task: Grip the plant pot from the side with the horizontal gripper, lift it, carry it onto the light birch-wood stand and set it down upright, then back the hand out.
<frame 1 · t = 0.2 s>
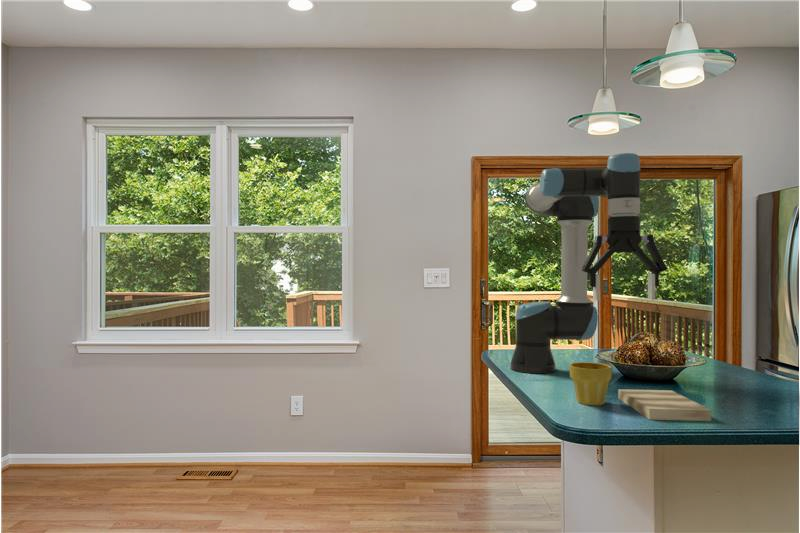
hand: (623, 299, 135), 27 cm above the countertop, tool pointing down, fingers open, 13 cm apart
plant pot: (590, 403, 138), on the countertop
birch stand: (661, 408, 133), on the countertop
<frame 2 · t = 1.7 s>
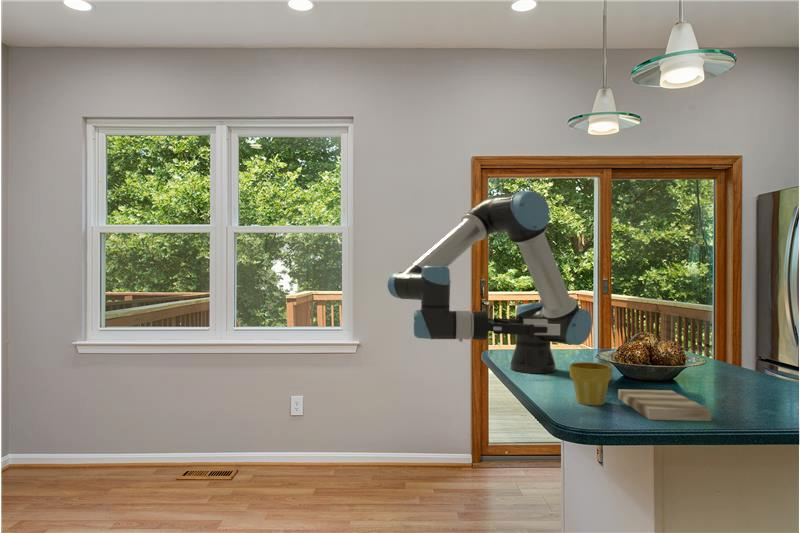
hand: (553, 326, 139), 20 cm above the countertop, tool horizontal, fingers open, 13 cm apart
nothing on the countertop moved.
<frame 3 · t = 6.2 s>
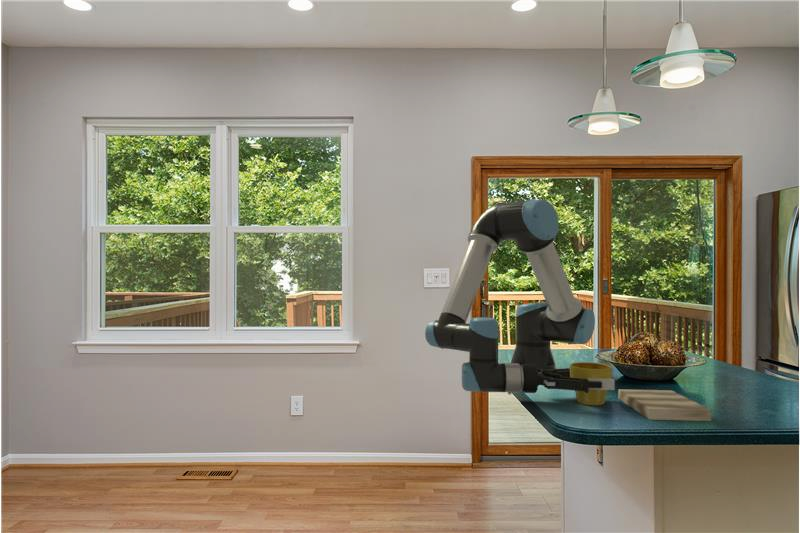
hand: (606, 379, 138), 6 cm above the countertop, tool horizontal, fingers closed on plant pot, 10 cm apart
plant pot: (590, 403, 138), on the countertop, touching gripper
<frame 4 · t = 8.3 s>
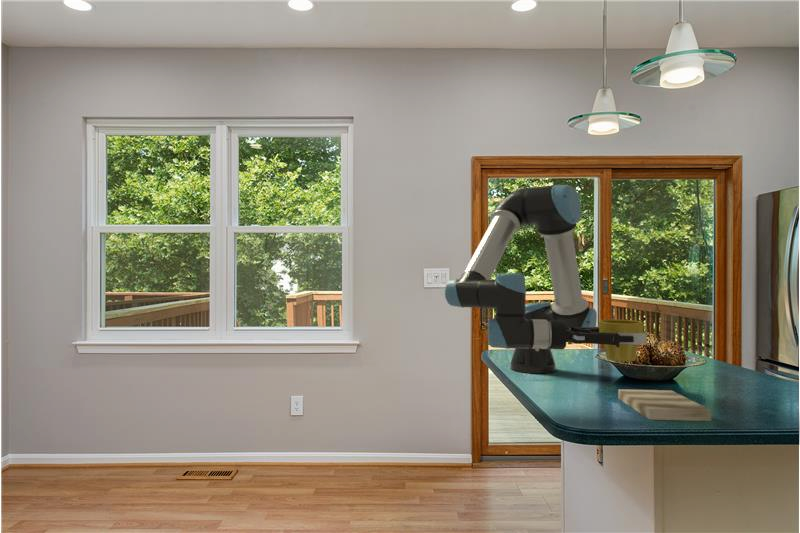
hand: (637, 336, 134), 18 cm above the countertop, tool horizontal, fingers closed on plant pot, 10 cm apart
plant pot: (620, 360, 135), point 12 cm above the countertop, touching gripper
when the fingers open (10 cm above the countertop, at t = 10.9 s): plant pot drops 1 cm, resting on birch stand.
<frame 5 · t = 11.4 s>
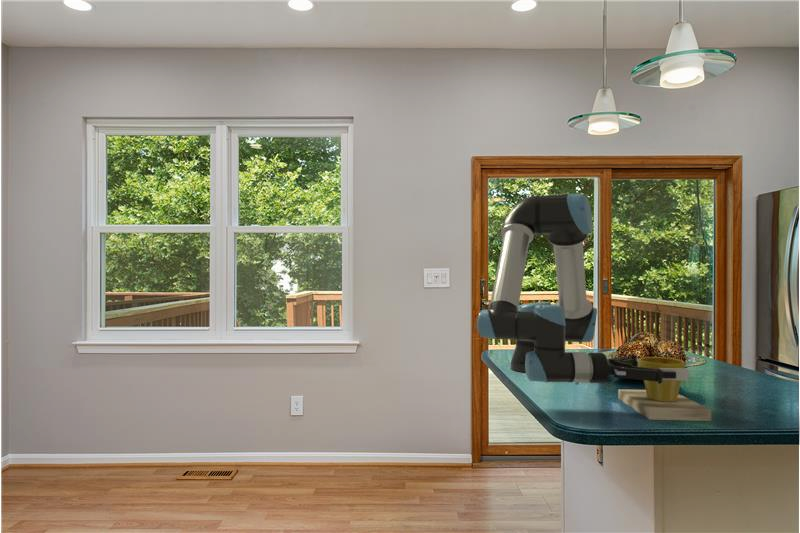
hand: (674, 369, 133), 10 cm above the countertop, tool horizontal, fingers open, 13 cm apart
plant pot: (661, 399, 133), point 2 cm above the countertop, touching birch stand
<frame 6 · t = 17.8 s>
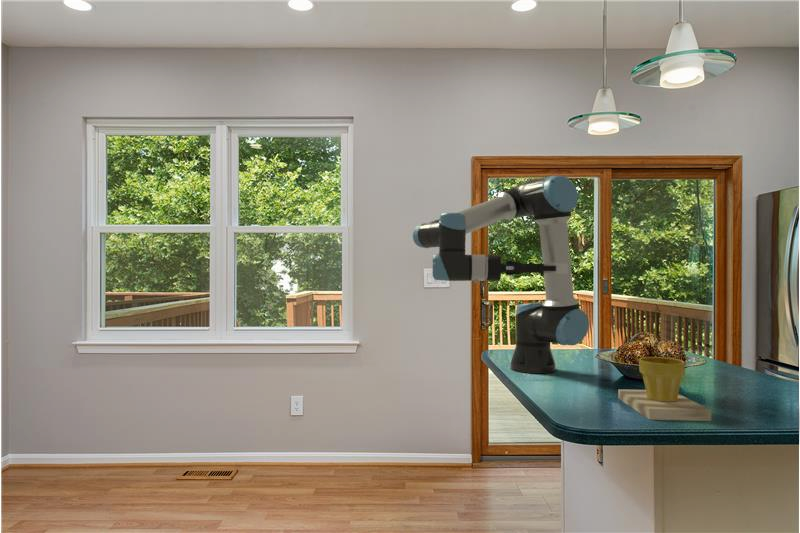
hand: (561, 268, 151), 35 cm above the countertop, tool horizontal, fingers open, 13 cm apart
nothing on the countertop moved.
at the end: plant pot inside the target area on the birch stand (0.1 cm from its centre), point 2.3 cm above the birch stand's base; plant pot tilted 0°; the gripper is holding nothing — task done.
